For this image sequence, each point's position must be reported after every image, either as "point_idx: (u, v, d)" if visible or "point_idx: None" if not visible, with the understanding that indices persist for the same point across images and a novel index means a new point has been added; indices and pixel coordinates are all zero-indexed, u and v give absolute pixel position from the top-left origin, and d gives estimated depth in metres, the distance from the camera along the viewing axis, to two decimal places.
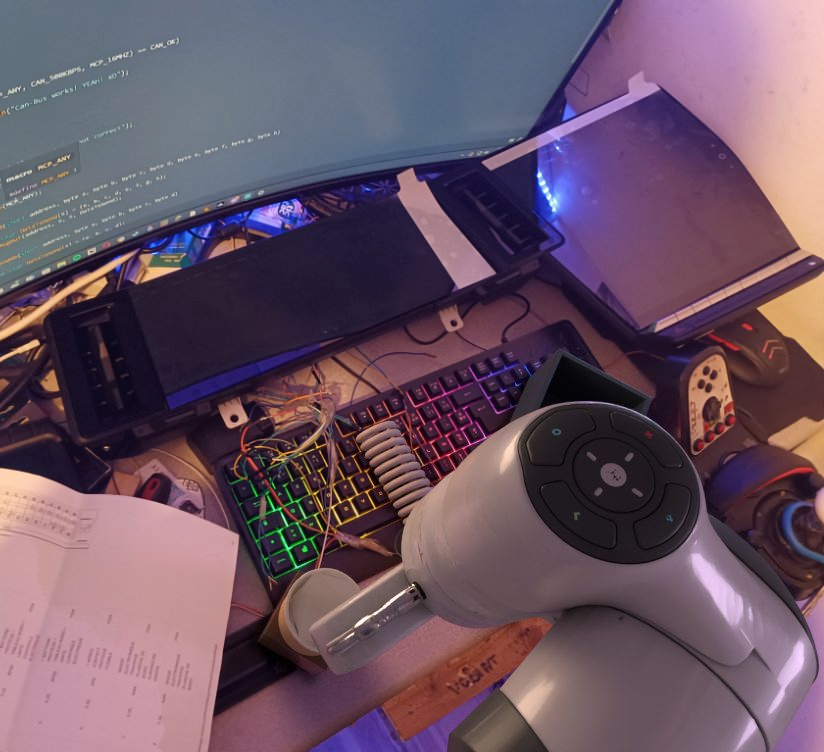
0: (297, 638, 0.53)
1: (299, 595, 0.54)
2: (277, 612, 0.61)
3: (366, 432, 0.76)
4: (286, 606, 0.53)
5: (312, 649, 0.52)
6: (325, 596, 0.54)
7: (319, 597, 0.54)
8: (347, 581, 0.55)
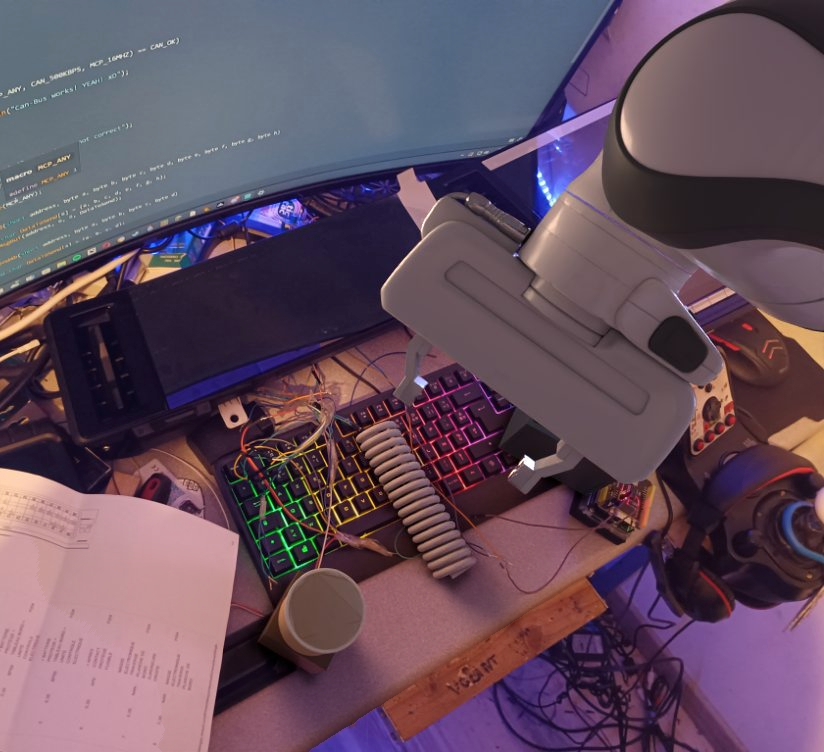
0: (297, 638, 0.53)
1: (299, 595, 0.54)
2: (277, 612, 0.61)
3: (366, 432, 0.76)
4: (286, 606, 0.53)
5: (312, 649, 0.52)
6: (325, 596, 0.54)
7: (319, 597, 0.54)
8: (347, 581, 0.55)
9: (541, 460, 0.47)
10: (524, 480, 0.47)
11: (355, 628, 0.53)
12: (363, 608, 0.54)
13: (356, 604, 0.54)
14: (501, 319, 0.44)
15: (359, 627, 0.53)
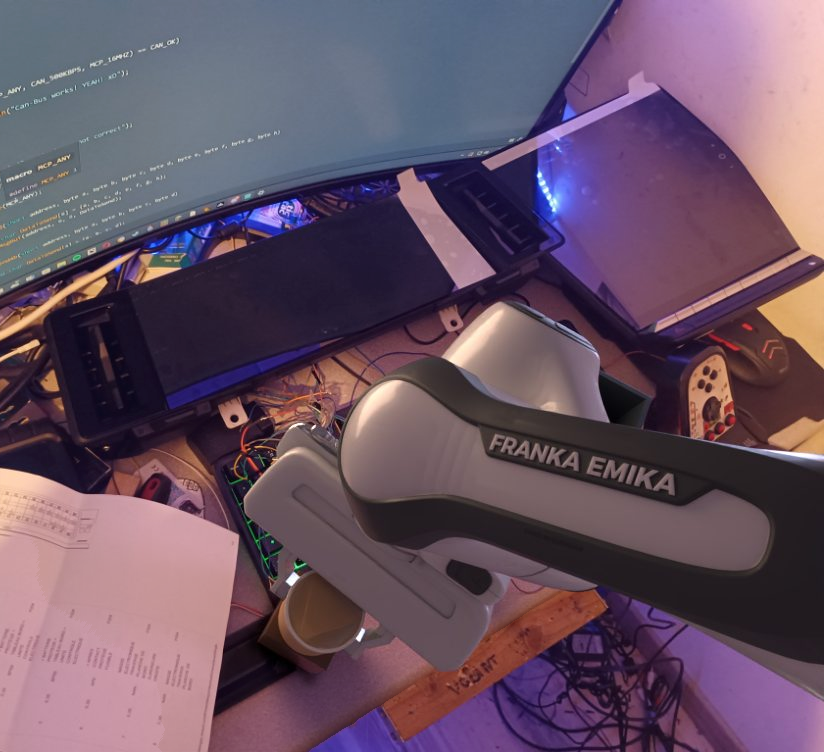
0: (297, 638, 0.53)
1: (299, 595, 0.54)
2: (277, 612, 0.61)
3: None
4: (286, 606, 0.53)
5: (312, 649, 0.52)
6: (325, 596, 0.54)
7: (318, 597, 0.54)
8: None
9: (369, 630, 0.56)
10: (352, 649, 0.55)
11: (355, 628, 0.53)
12: None
13: None
14: (338, 533, 0.53)
15: (359, 627, 0.53)
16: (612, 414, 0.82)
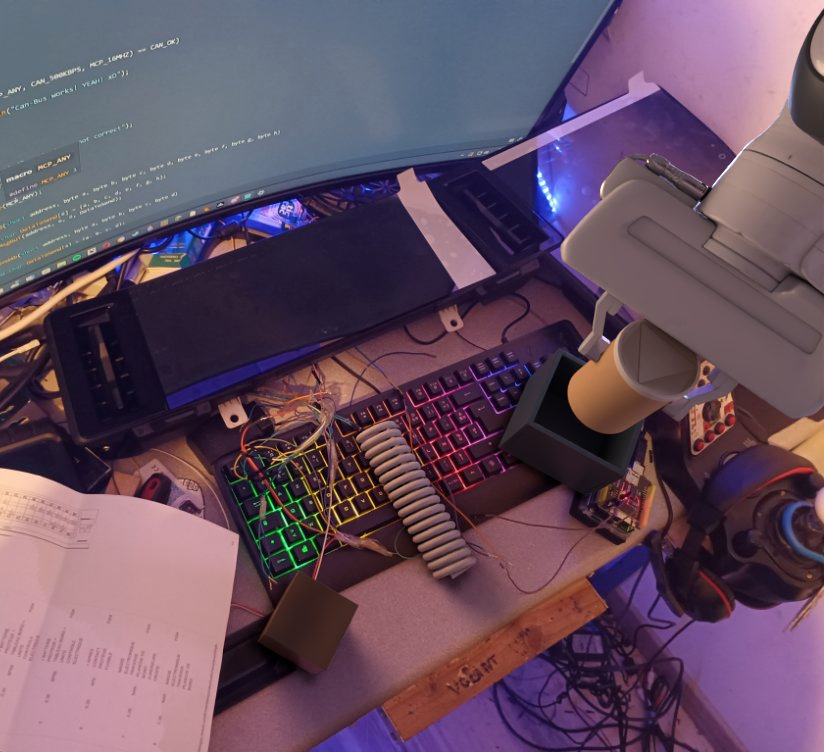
0: (636, 383, 0.48)
1: (630, 343, 0.50)
2: (277, 612, 0.61)
3: (366, 432, 0.76)
4: (618, 352, 0.49)
5: (653, 394, 0.48)
6: (656, 345, 0.50)
7: (650, 346, 0.50)
8: None
9: (691, 391, 0.52)
10: (678, 408, 0.51)
11: (693, 376, 0.49)
12: (697, 358, 0.50)
13: (690, 354, 0.50)
14: (681, 269, 0.48)
15: (697, 375, 0.49)
16: None
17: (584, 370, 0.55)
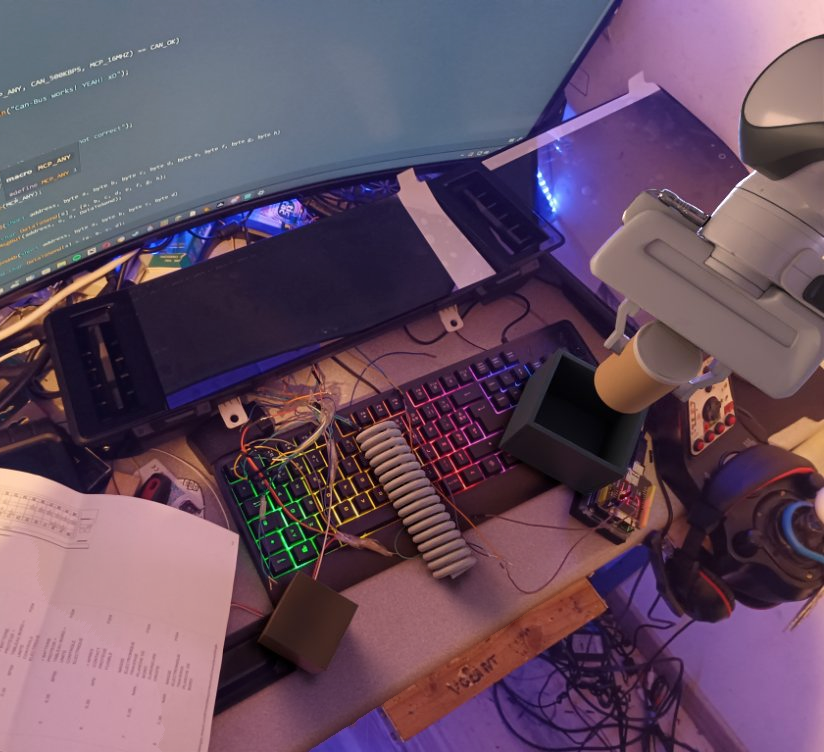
0: (651, 370, 0.61)
1: (646, 339, 0.62)
2: (277, 612, 0.61)
3: (366, 432, 0.76)
4: (637, 346, 0.62)
5: (665, 379, 0.61)
6: (667, 340, 0.63)
7: (662, 341, 0.63)
8: None
9: (695, 378, 0.65)
10: (685, 391, 0.64)
11: (696, 365, 0.62)
12: (699, 351, 0.63)
13: (694, 347, 0.63)
14: (686, 280, 0.61)
15: (699, 365, 0.62)
16: (612, 414, 0.82)
17: (608, 361, 0.67)
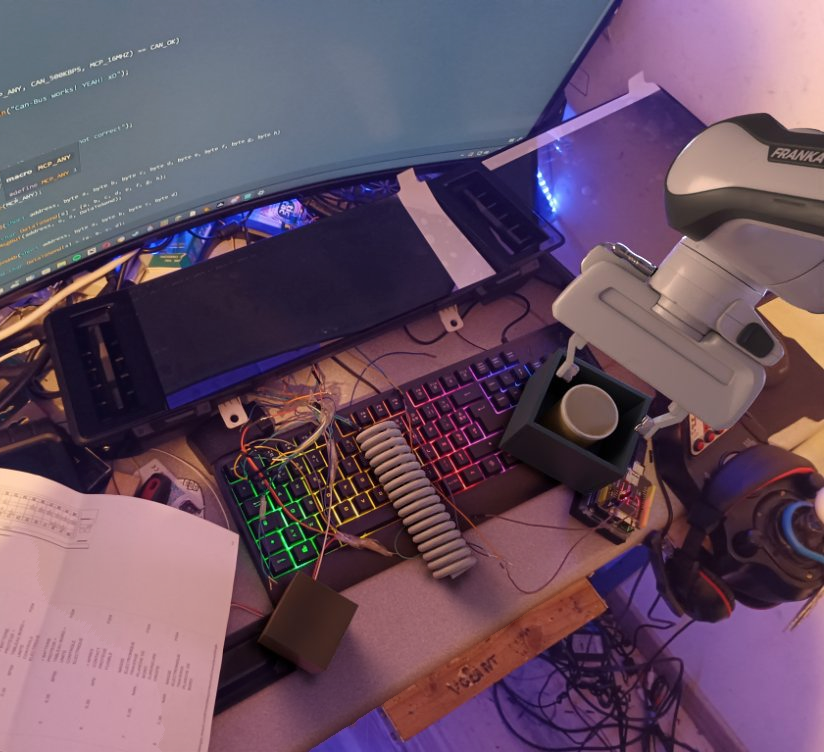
0: (574, 428, 0.74)
1: (571, 401, 0.76)
2: (277, 612, 0.61)
3: (366, 432, 0.76)
4: (564, 407, 0.75)
5: (585, 435, 0.74)
6: (589, 402, 0.76)
7: (585, 403, 0.76)
8: (602, 393, 0.77)
9: (657, 417, 0.72)
10: (647, 430, 0.71)
11: (612, 423, 0.75)
12: (616, 411, 0.76)
13: (611, 408, 0.76)
14: (636, 324, 0.69)
15: (615, 423, 0.75)
16: None
17: (544, 416, 0.80)
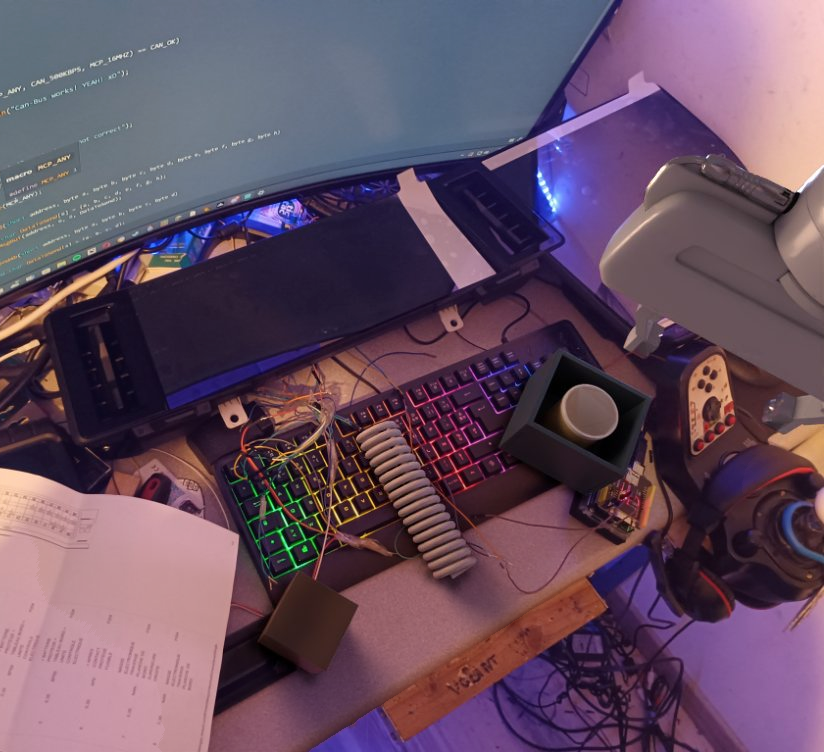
0: (574, 428, 0.74)
1: (571, 401, 0.76)
2: (277, 612, 0.61)
3: (366, 432, 0.76)
4: (564, 407, 0.75)
5: (586, 435, 0.74)
6: (589, 402, 0.76)
7: (585, 403, 0.76)
8: (602, 393, 0.77)
9: (803, 400, 0.43)
10: (781, 425, 0.44)
11: (612, 423, 0.75)
12: (616, 411, 0.76)
13: (611, 408, 0.76)
14: (750, 300, 0.38)
15: (615, 422, 0.75)
16: None
17: (544, 416, 0.80)
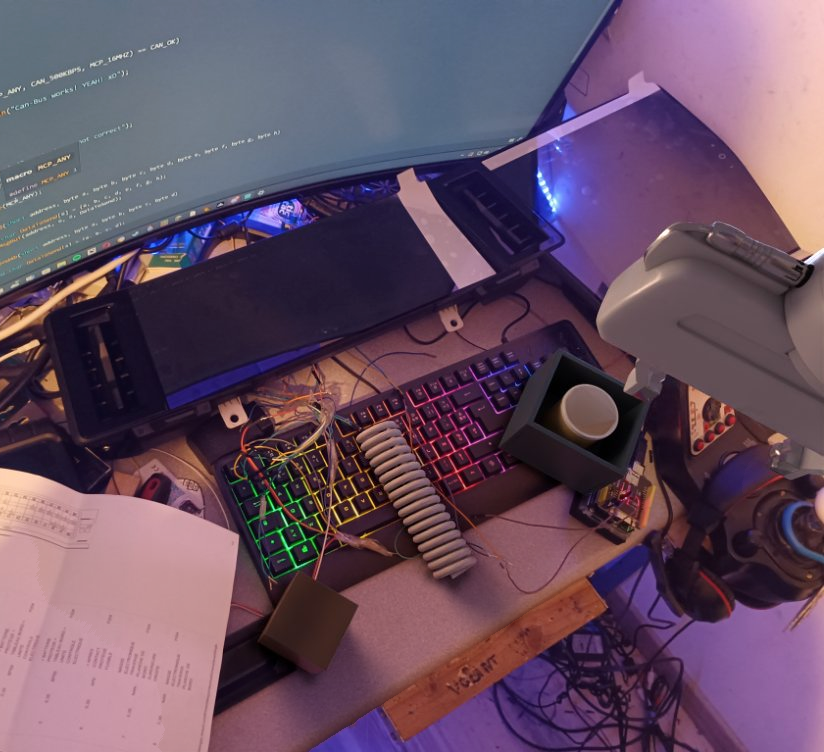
0: (574, 428, 0.74)
1: (571, 401, 0.76)
2: (277, 612, 0.61)
3: (366, 432, 0.76)
4: (564, 407, 0.75)
5: (586, 435, 0.74)
6: (589, 402, 0.76)
7: (585, 403, 0.76)
8: (602, 393, 0.77)
9: None
10: (786, 472, 0.42)
11: (612, 423, 0.75)
12: (616, 411, 0.76)
13: (611, 408, 0.76)
14: (757, 367, 0.35)
15: (615, 422, 0.75)
16: None
17: (544, 416, 0.80)
